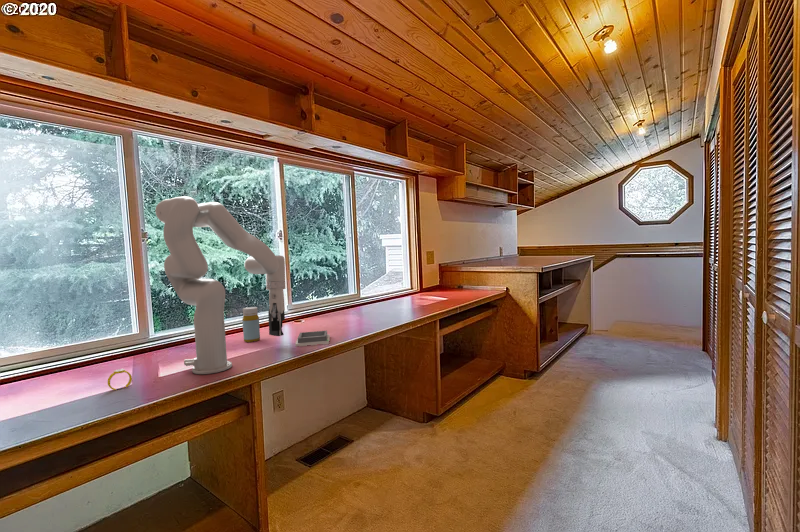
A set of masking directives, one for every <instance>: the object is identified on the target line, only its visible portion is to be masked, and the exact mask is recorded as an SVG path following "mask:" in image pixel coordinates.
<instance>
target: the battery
mask: <svg viewBox="0 0 800 532" xmlns="http://www.w3.org/2000/svg"><path fill="white" fill-rule="evenodd" d="M271 312H272V311H271ZM276 313H278V311H277V312H276ZM267 316H268V317H267V318H268V335H269V336H273V337H281V336H284V331H283V322H284V321H285V319H286V318H285V317H286V316H285V311H284V310H283V313H282V314H281V313H279V321H280V331H272V326H271V321H272V314H270V308H268V314H267Z"/></svg>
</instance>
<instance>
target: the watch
mask: <svg viewBox="0 0 800 532" xmlns="http://www.w3.org/2000/svg"><path fill="white" fill-rule="evenodd" d="M122 373H126V374H127V375H128V377H129V379H128V382H127V384H126V385H125V386H126V387H127V388H128V387H129V386H130V385H131V383H132V381H133V378H132V375H131V373H130V372H129V371H127V370H125V368H119V369H115V370H113V372H112V373H111V374H110V375H109V376H108V378H107V386H108V388H110V389H111V390H113V391H115V390H116V388H114V387H113V386H112V385H111V380H112V378H113V377H114V376H115V375H117V374H118V375H119V374H122ZM116 391H117V390H116Z"/></svg>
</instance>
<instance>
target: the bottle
mask: <svg viewBox="0 0 800 532" xmlns="http://www.w3.org/2000/svg"><path fill="white" fill-rule="evenodd" d="M242 331H243V332H242V333H243V335H242V336H243V341H244V342H245V343H254V342H253V341H255V342H258V341H260V339H261V334H260V333H261V332H260V317H259V315H258V307H257V306H249V307H244V308H242Z"/></svg>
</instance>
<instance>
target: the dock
mask: <svg viewBox="0 0 800 532" xmlns="http://www.w3.org/2000/svg"><path fill="white" fill-rule="evenodd" d="M329 341H331V335H330V333H329V334H328V330H317V331H314V330H313V331H304V332H302V331H301V332H299V334H298V337H297V339H296V341H295V347H296V348H298V347H297V346H299V347H308V346H307V345H311V346H318V345H317V344H323V345H329V344H330V342H329Z"/></svg>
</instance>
